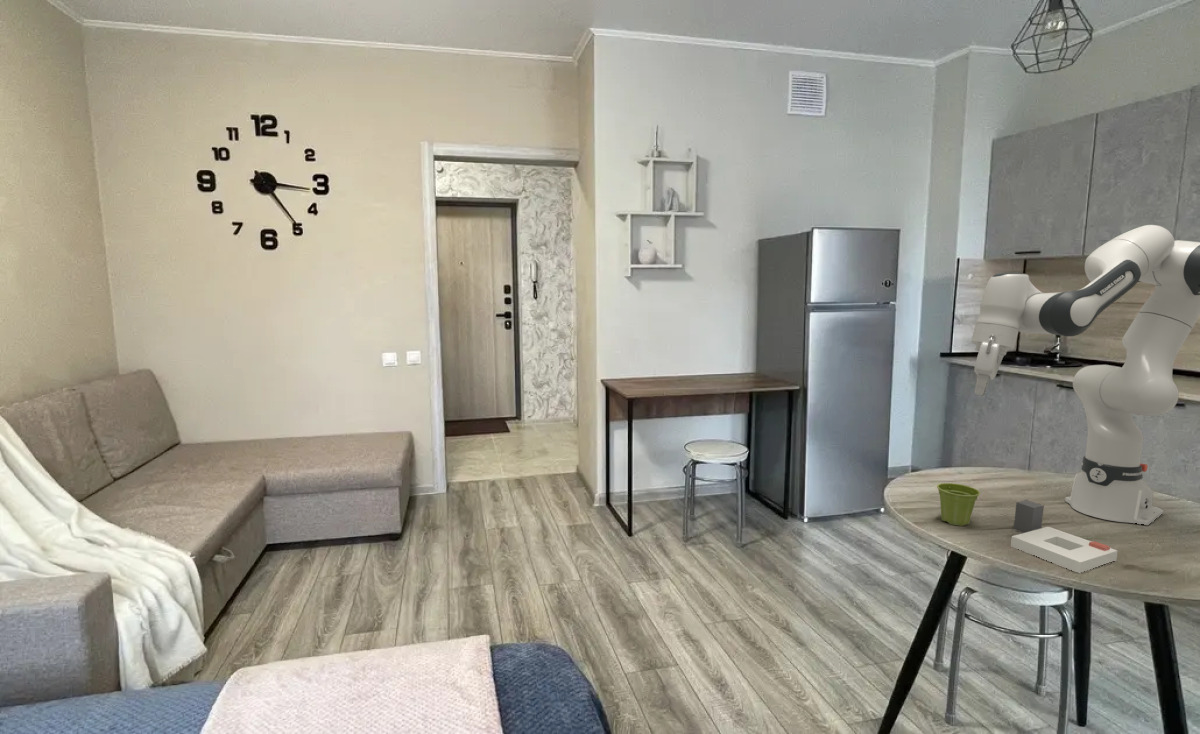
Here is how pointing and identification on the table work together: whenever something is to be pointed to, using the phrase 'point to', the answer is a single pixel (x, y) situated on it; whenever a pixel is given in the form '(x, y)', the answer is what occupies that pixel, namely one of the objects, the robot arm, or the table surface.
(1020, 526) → the plug
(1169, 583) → the table surface
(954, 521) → the plant pot
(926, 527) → the table surface
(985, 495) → the table surface
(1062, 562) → the socket plate
